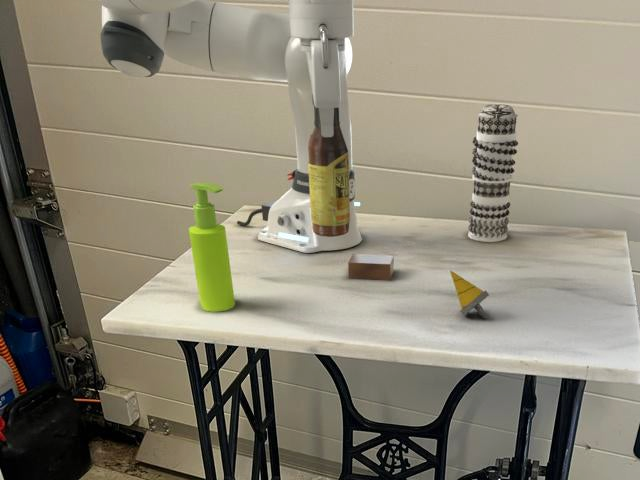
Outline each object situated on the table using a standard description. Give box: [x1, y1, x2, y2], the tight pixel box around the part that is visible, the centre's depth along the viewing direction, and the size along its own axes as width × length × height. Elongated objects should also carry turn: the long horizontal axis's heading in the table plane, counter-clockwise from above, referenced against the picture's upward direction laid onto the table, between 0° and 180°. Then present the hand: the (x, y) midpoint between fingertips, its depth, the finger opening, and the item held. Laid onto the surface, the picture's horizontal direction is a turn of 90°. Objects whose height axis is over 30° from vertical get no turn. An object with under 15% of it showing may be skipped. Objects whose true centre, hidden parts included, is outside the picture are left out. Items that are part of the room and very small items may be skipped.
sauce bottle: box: [308, 93, 350, 237], centre depth 112 cm, size 7×6×20 cm
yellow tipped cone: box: [450, 270, 490, 319], centre depth 122 cm, size 5×5×10 cm
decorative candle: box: [467, 103, 519, 243], centre depth 151 cm, size 9×9×25 cm
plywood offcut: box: [347, 253, 395, 281], centre depth 139 cm, size 8×5×3 cm, turn 83°
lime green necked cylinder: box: [188, 181, 236, 313], centre depth 121 cm, size 6×7×20 cm
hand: (326, 132), depth 109 cm, fingers closed on sauce bottle, 4 cm apart
